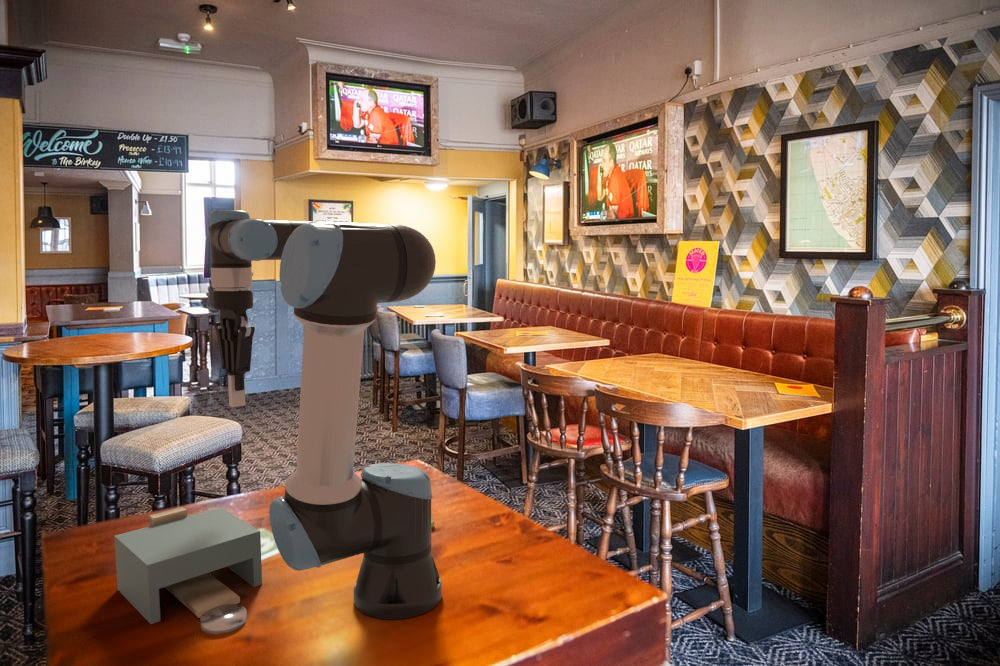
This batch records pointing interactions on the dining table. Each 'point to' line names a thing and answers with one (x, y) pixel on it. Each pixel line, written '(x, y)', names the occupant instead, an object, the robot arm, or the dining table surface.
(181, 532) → the bridge
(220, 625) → the token
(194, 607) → the paddle
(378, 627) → the dining table surface
